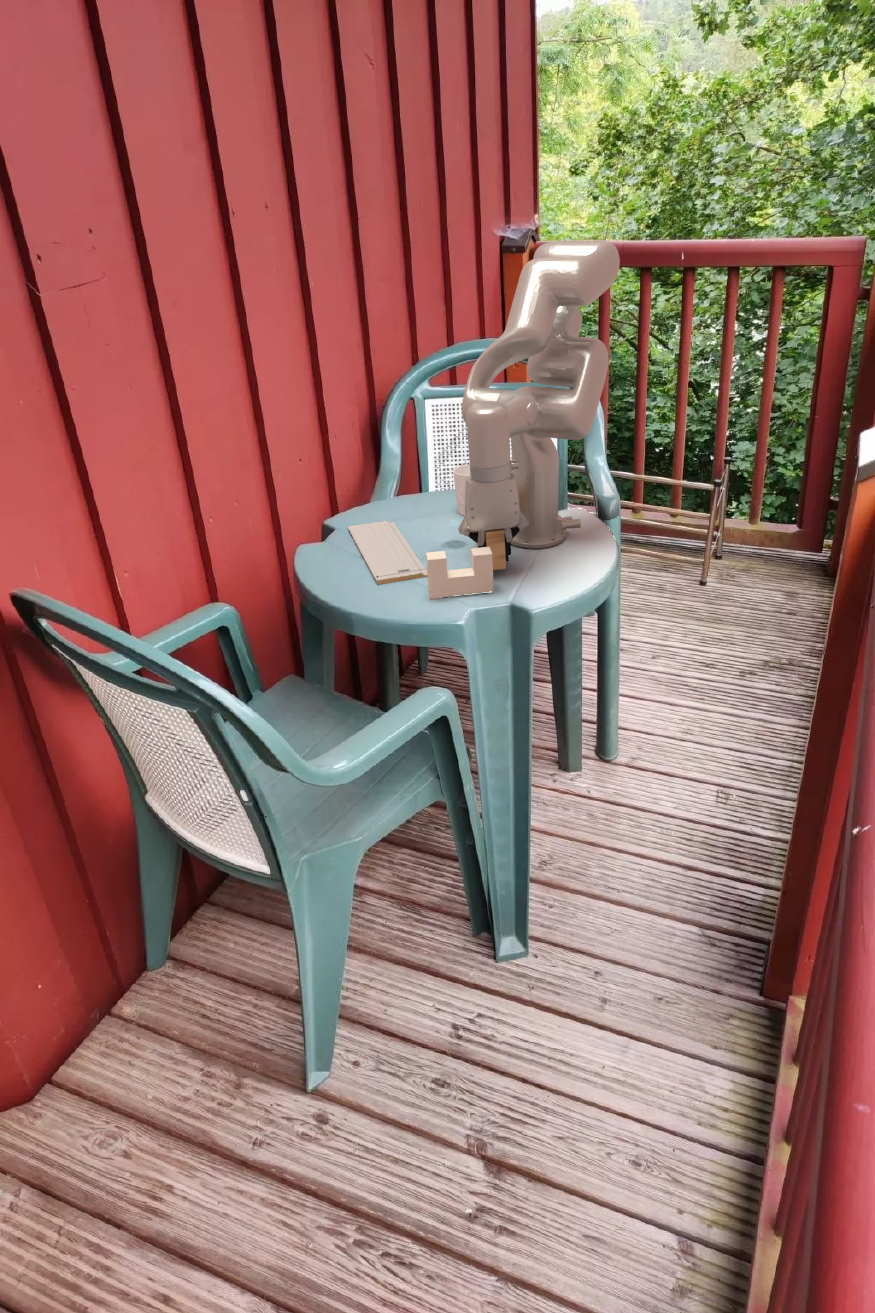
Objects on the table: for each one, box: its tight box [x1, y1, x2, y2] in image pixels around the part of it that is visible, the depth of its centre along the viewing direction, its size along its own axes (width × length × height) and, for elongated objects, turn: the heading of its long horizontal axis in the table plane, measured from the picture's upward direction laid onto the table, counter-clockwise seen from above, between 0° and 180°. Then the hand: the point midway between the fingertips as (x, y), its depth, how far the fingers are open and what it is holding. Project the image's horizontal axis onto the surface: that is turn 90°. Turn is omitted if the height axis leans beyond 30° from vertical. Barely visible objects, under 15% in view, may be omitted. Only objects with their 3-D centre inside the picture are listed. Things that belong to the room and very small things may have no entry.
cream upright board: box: [425, 547, 494, 600], centre depth 169 cm, size 12×4×8 cm, turn 96°
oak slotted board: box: [484, 529, 507, 571], centre depth 181 cm, size 18×4×8 cm, turn 6°
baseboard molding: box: [347, 520, 428, 585], centre depth 190 cm, size 31×3×12 cm
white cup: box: [453, 463, 470, 517], centre depth 205 cm, size 8×8×10 cm
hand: (495, 558), depth 176 cm, fingers closed on oak slotted board, 3 cm apart
